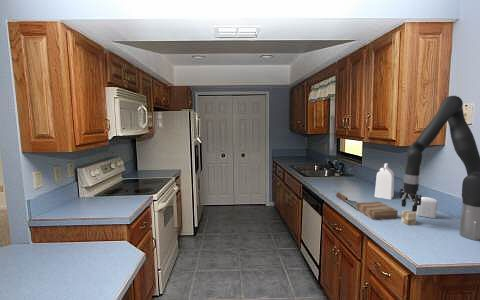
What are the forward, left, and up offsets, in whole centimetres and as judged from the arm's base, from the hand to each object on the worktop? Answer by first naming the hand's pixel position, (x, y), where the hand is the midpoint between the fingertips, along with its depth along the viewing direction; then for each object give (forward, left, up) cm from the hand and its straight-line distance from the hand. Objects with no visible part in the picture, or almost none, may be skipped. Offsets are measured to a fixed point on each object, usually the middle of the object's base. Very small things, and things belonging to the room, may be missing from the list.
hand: (408, 208), depth 163 cm
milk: (+51, -22, -9) cm, 56 cm away
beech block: (-1, 0, -9) cm, 9 cm away
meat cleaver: (+40, +12, -9) cm, 43 cm away
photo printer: (+7, -19, -9) cm, 22 cm away
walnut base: (+16, +9, -9) cm, 21 cm away
